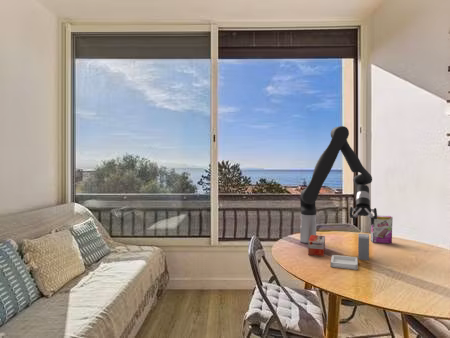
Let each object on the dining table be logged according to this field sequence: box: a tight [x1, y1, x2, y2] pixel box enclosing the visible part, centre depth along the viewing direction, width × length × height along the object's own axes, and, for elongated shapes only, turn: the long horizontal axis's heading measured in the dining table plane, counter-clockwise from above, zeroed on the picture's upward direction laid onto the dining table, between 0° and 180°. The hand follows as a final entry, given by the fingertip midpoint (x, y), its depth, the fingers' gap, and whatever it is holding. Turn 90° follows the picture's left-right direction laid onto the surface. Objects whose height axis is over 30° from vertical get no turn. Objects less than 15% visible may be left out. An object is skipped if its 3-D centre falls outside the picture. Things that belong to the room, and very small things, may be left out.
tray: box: [330, 254, 359, 270], centre depth 161 cm, size 12×13×2 cm
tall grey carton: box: [357, 233, 370, 261], centre depth 171 cm, size 5×6×12 cm
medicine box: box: [307, 234, 326, 257], centre depth 182 cm, size 15×8×8 cm, turn 161°
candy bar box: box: [370, 214, 393, 244], centre depth 202 cm, size 11×5×16 cm, turn 84°
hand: (363, 224), depth 181 cm, fingers open, 8 cm apart
